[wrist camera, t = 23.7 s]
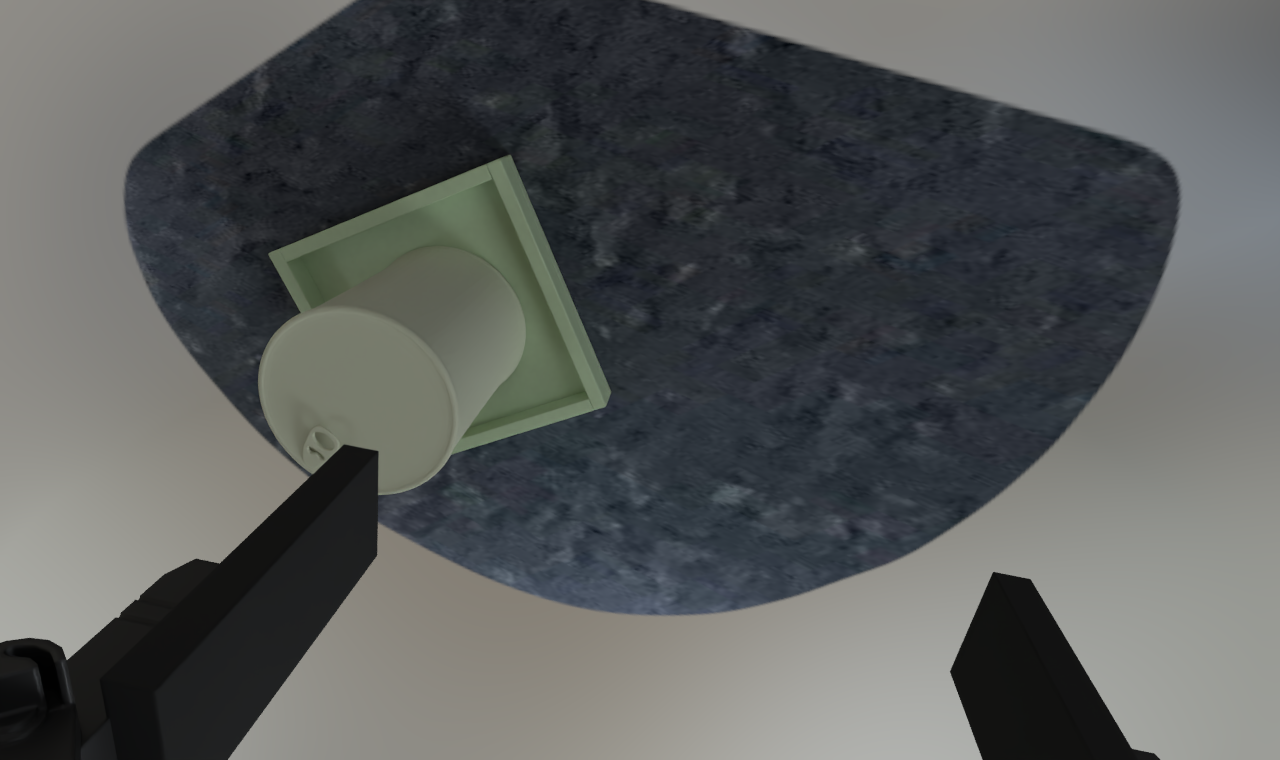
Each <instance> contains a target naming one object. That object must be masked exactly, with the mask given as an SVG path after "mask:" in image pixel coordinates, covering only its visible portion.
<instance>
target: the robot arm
mask: <svg viewBox="0 0 1280 760" xmlns="http://www.w3.org/2000/svg"><path fill="white" fill-rule="evenodd" d="M378 459H379V451H376V450H371V449H366V448H361V447H355V446H350V445H345V444H344V445H343V446H342V447H341V448H340V449H339V450H338V451H337V452H336V453H334V454H333V455H332V456H331V457H330V458H329V459H328V460H327V461H326V462H325V463H324V464H323V465H322V466H321V467H320V468H319V469H318V470H317V471H316V472H315V473H314V474H313V475H312V476H311V477H309V478H308V479H307V481H305V482H304V483H303V484H302V485H301V486H300V487H299V488H298V489H297V490H296V491H295V492H294V493H293V494H292V495H291V496H290V497H289V498H288V499H287V500H286V501H285V502H283V503H282V505H280V506H279V507H278V508H277V509H276V510H275V511H274V512H273V513H272V514H271V515H270V516H269V517H268V518H267V519H266V520H265V521H264V522H263V523H262V524H261V525H260V526H259V527H257V529H255V530H254V531H253V532H252V533H251V534H250V535H249V536H248V537H247V538H246V539H245V540H244V541H243V542H242V543H241V544H240V545H239V546H238V547H237V548H236V549H235V550H233V551H232V552H231V553H230V554H229V555H228V556H227V557H226V558H225V559H224V560H223V561H222V562H221V563H220V564H219V563H214V562H209V561H204V560H199V559H194V560H192V561H190V562H189V563H186V564H184V565H182V566H180V567H179V568H177V569H175V570H172V571H170V572H168V573H167V574H164V575H163V576H162V577H161V578H160V579H159V580H158V581H156V582H155V583H154V584H153V585H152V586H151V587H150V588H148V589H147V590H146V591H145V592H144V593H143V594H142V595H140V599H139V600H135V601H134V602H133V603H132V604H130V605H129V606H128V607H127V608H126V609H125V610H124V611H122V612H121V615H120V617H119V618H115V619H113V620H112V621H111V622H110V623H109V624H108V625H107V626H106V627H104V628H103V629H102V630H101V631H100V632H99V633H98V634H96V635H95V636H94V637H93V638H92V639H91V640H90V641H89V642H88V643H86V644H85V645H84V646H83V647H82V648H81V649H80V650H78V651H77V652H76V653H75V654H74V655H73V656H72V657H70V658H69V659H68V660H66V657H65V654H64V652H63V649H62V647H60V646H58V645H57V644H55V643H53V642H51V641H50V640H43V639H34V638H25V639H18V640H11V641H5V642H2V643H0V760H228V758H229V757H230V756H231V754H232V753H233V752H234V750H235V749H236V747H237V746H238V745H239V743H240V742H241V741H242V739H243V738H244V736H245V735H246V734H247V732H248V731H249V730H250V728H251V727H252V726H253V724H254V723H255V721H256V720H257V719H258V717H259V716H260V715H261V713H262V712H263V710H264V709H265V708H266V707H267V705H268V704H269V702H270V701H271V699H272V698H273V697H274V695H275V694H276V693H277V691H278V690H279V689H280V687H281V686H282V684H283V683H284V682H285V681H286V679H287V678H288V676H289V675H290V674H291V672H292V671H293V670H294V668H295V667H296V665H297V664H298V663H299V661H300V660H301V659H302V657H303V656H304V654H305V653H306V652H307V650H308V649H309V648H310V646H311V645H312V644H313V642H314V641H315V640H316V638H317V637H318V635H319V634H320V633H321V631H322V630H323V628H324V627H325V626H326V625H327V623H328V622H329V620H330V619H331V618H332V616H333V615H334V614H335V612H336V611H337V609H338V608H339V607H340V605H341V604H342V603H343V601H344V600H345V599H346V597H347V596H348V594H349V593H350V591H351V590H352V589H353V587H354V586H355V585H356V583H357V582H358V581H359V579H360V578H361V577H362V575H363V574H364V573H365V571H366V570H367V568H368V567H369V565H370V564H371V563H372V562H373V560H374V559H375V557H376V556H377V529H378ZM950 673H951V676H952V678H953V681H954V684H955V686H956V689H957V692H958V694H959V697H960V700H961V702H962V705H963V708H964V710H965V713H966V716H967V719H968V721H969V724H970V727H971V729H972V732H973V735H974V737H975V740H976V743H977V746H978V748H979V751H980V753H981V756H982V759H983V760H1160V759H1159V758H1158V757H1157V756H1156V755H1155V754H1154V753H1149V752H1144V751H1139V750H1134V749H1132V748H1131V747H1130V745H1129V744H1128V742H1127V740H1126V738H1125V737H1124V735H1123V733H1122V732H1121V730H1120V728H1119V727H1118V725H1117V723H1116V722H1115V720H1114V718H1113V717H1112V715H1111V713H1110V712H1109V710H1108V708H1107V707H1106V705H1105V703H1104V702H1103V700H1102V698H1101V697H1100V695H1099V693H1098V692H1097V690H1096V688H1095V687H1094V685H1093V683H1092V682H1091V680H1090V678H1089V676H1088V675H1087V673H1086V672H1085V670H1084V668H1083V667H1082V665H1081V663H1080V661H1079V660H1078V658H1077V656H1076V655H1075V653H1074V651H1073V650H1072V648H1071V646H1070V645H1069V643H1068V641H1067V640H1066V638H1065V636H1064V635H1063V633H1062V631H1061V630H1060V628H1059V626H1058V625H1057V623H1056V621H1055V620H1054V618H1053V616H1052V615H1051V613H1050V611H1049V609H1048V608H1047V606H1046V605H1045V603H1044V601H1043V599H1042V598H1041V596H1040V594H1039V593H1038V591H1037V590H1036V588H1035V586H1034V584H1033V583H1032V581H1031V580H1030V579H1026V578H1021V577H1016V576H1011V575H1006V574H1001V573H996V572H993V574H992V576H991V578H990V581H989V583H988V585H987V587H986V590H985V592H984V595H983V597H982V599H981V602H980V604H979V606H978V609H977V611H976V613H975V615H974V618H973V620H972V622H971V624H970V627H969V629H968V631H967V634H966V636H965V638H964V641H963V643H962V645H961V648H960V650H959V652H958V654H957V657H956V659H955V661H954V664H953V666H952V668H951V671H950Z"/></svg>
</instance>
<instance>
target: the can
mask: <svg viewBox="0 0 1280 760" xmlns="http://www.w3.org/2000/svg"><path fill="white" fill-rule="evenodd" d="M525 339H526V325H525V318H524V313H523V310H522V307H521V304H520V302H519V299H518V297H517V295H516V293H515V291H514V290H513V288H512V287H511V285H510V284H509V283H508V281H507V280H506V279H505V277H504V276H503V275H502V274H501V273H500V272H499V271H498V270H497V269H495V268H494V267H493V266H492V265H491V264H489V263H488V262H486V261H485V260H483V259H482V258H480V257H478V256H476V255H474V254H472V253H470V252H467V251H464V250H461V249H457V248H453V247H446V246H430V247H423V248H419V249H416V250H413V251H410V252H408V253H406V254H404V255H402V256H400V257H399V258H397V259H396V260H395V261H393V262H392V263H391V264H390V265H389V266H388V267H387V268H386V269H384V270H382V271H381V272H379V273H377V274H376V275H374V276H372V277H370V278H369V279H367V280H365V281H363V282H361V283H360V284H358V285H356V286H354V287H352V288H351V289H349V290H347V291H345V292H343V293H341V294H340V295H338V296H336V297H334V298H332V299H331V300H329V301H327V302H325V303H323V304H321V305H319V306H317V307H315V308H313V309H310V310H307V311H304V312H302V313H300V314H298V315H296V316H295V317H293V318H291V319H290V320H288V321H287V322H286V323H285V324H283V325H282V326H281V327H280V328H279V329H278V330H277V331H276V333H275V334H274V335H273V336H272V338H271V339H270V341H269V343H268V344H267V346H266V348H265V350H264V353H263V356H262V358H261V363H260V367H259V375H258V388H259V396H260V401H261V406H262V409H263V412H264V415H265V418H266V420H267V422H268V424H269V426H270V428H271V430H272V432H273V433H274V435H275V437H276V438H277V440H278V441H279V443H280V444H281V445H282V447H283V448H284V449H285V450H286V451H287V452H288V453H289V455H290V456H291V457H292V458H293V459H294V460H295V461H296V462H298V463H299V464H300V465H301V466H302V467H303V468H305V469H306V470H307V471H309V472H310V473H312V474H314V473H315V472H316V471H317V470H318V469H319V468H320V467H321V466H322V465H323V464H324V463H325V462H326V461H327V460H328V459H329V458H330V457H331V456H332V455H333V454H334V453H336V452H337V451H338V450H339V449H340V448H341V447H342V446H343V445H344V444H345V445H350V446H355V447H361V448H366V449H371V450H376V451H379V459H378V495H387V494H395V493H400V492H404V491H407V490H410V489H413V488H415V487H417V486H419V485H421V484H423V483H424V482H426V481H428V480H429V479H430V478H432V477H433V476H434V475H435V474H436V473H437V472H438V471H439V470H440V469H441V468H442V467H443V466H444V465H445V463H446V462H447V460H448V459H449V457H450V455H451V453H452V451H453V449H454V447H455V446H456V445H457V443H458V442H459V440H460V439H461V437H462V436H463V435H464V433H465V432H466V430H467V429H468V428H469V426H470V425H471V423H472V422H473V421H474V419H475V418H476V416H477V415H478V414H479V412H480V411H481V409H482V408H483V407H484V405H485V404H486V403H487V401H488V400H489V398H490V397H491V396H492V394H493V393H494V392H495V391H496V389H497V388H498V387H499V386H500V385H501V384H502V383H503V382H504V381H506V380H507V379H508V377H509V376H510V375H511V374H512V373H513V372H514V370H515V369H516V367H517V365H518V363H519V361H520V359H521V357H522V354H523V350H524V346H525Z"/></svg>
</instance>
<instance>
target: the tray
mask: <svg viewBox="0 0 1280 760" xmlns="http://www.w3.org/2000/svg"><path fill="white" fill-rule="evenodd" d="M430 246H446V247H453V248H457V249H461V250H464V251H467V252H470V253H472V254H474V255H476V256H478V257H480V258H482V259H483V260H485V261H486V262H488V263H489V264H491V265H492V266H493V267H494V268H495V269H497V270H498V271H499V272H500V273H501V274H502V275H503V276H504V277H505V279H506V280H507V281H508V283H509V284H510V285H511V287H512V288H513V290H514V291H515V293H516V295H517V297H518V299H519V302H520V304H521V307H522V310H523V313H524V318H525V325H526V339H525V346H524V350H523V354H522V357H521V359H520V361H519V363H518V365H517V367H516V369H515V370H514V372H513V373H512V374H511V375H510V376H509V377H508V379H507V380H506V381H504V382H503V383H502V384H501V385H500V386H499V387H498V388H497V389H496V391H495V392H494V393H493V394H492V396H491V397H490V398H489V400H488V401H487V403H486V404H485V405H484V407H483V408H482V409H481V411H480V412H479V414H478V415H477V416H476V418H475V419H474V421H473V422H472V423H471V425H470V426H469V428H468V429H467V430H466V432H465V433H464V435H463V436H462V437H461V439H460V440H459V442H458V443H457V445H456V446H455V447H454V449H453V451H452V453H451V454H454V453H457V452H461V451H464V450H467V449H470V448H473V447H477V446H480V445H483V444H486V443H490V442H493V441H496V440H499V439H503V438H506V437H509V436H512V435H516V434H519V433H522V432H525V431H529V430H532V429H535V428H538V427H542V426H545V425H548V424H551V423H555V422H558V421H561V420H564V419H568V418H571V417H574V416H577V415H580V414H584V413H587V412H590V411H593V410H596V409H600V408H603V407H606V405H607V402H608V399H609V397H610V394H611V390H610V388H609V385H608V383H607V381H606V378H605V376H604V374H603V371H602V369H601V367H600V364H599V362H598V360H597V357H596V355H595V352H594V350H593V348H592V345H591V343H590V341H589V338H588V336H587V334H586V331H585V329H584V327H583V324H582V322H581V319H580V317H579V315H578V312H577V310H576V308H575V305H574V303H573V301H572V298H571V296H570V294H569V291H568V289H567V286H566V284H565V282H564V279H563V277H562V275H561V272H560V270H559V268H558V265H557V263H556V261H555V258H554V256H553V253H552V251H551V249H550V246H549V244H548V242H547V239H546V237H545V235H544V232H543V230H542V228H541V225H540V223H539V220H538V218H537V216H536V213H535V211H534V209H533V206H532V204H531V202H530V199H529V197H528V195H527V192H526V190H525V187H524V185H523V183H522V180H521V178H520V176H519V173H518V171H517V169H516V166H515V164H514V162H513V159H512V157H511V155H507V156H505V157H502V158H499V159H497V160H494V161H492V162H489V163H487V164H484V165H482V166H480V167H477V168H475V169H472V170H470V171H467V172H465V173H463V174H460V175H458V176H455V177H453V178H450V179H448V180H446V181H443V182H441V183H438V184H436V185H433V186H431V187H429V188H426V189H424V190H421V191H419V192H416V193H414V194H411V195H409V196H407V197H404V198H402V199H399V200H397V201H394V202H392V203H390V204H387V205H385V206H382V207H380V208H377V209H375V210H373V211H370V212H368V213H365V214H363V215H360V216H358V217H355V218H353V219H351V220H348V221H346V222H343V223H341V224H338V225H336V226H334V227H331V228H329V229H326V230H324V231H321V232H319V233H317V234H314V235H312V236H309V237H307V238H304V239H302V240H299V241H297V242H295V243H292V244H290V245H287V246H285V247H282V248H280V249H278V250H275V251H273V252H270V253H269V254H268V255H269V257H270V259H271V260H272V262H273V264H274V266H275V267H276V269H277V271H278V273H279V275H280V276H281V278H282V280H283V282H284V284H285V285H286V287H287V289H288V291H289V292H290V294H291V296H292V298H293V300H294V301H295V303H296V305H297V307H298V309H299V310H300V312H301V313H302V312H304V311H307V310H310V309H313V308H315V307H317V306H319V305H321V304H323V303H325V302H327V301H329V300H331V299H332V298H334V297H336V296H338V295H340V294H341V293H343V292H345V291H347V290H349V289H351V288H352V287H354V286H356V285H358V284H360V283H361V282H363V281H365V280H367V279H369V278H370V277H372V276H374V275H376V274H377V273H379V272H381V271H382V270H384V269H386V268H387V267H388V266H389V265H390V264H391V263H392V262H393V261H395V260H396V259H397V258H399V257H400V256H402V255H404V254H406V253H408V252H410V251H413V250H416V249H419V248H423V247H430Z"/></svg>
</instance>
